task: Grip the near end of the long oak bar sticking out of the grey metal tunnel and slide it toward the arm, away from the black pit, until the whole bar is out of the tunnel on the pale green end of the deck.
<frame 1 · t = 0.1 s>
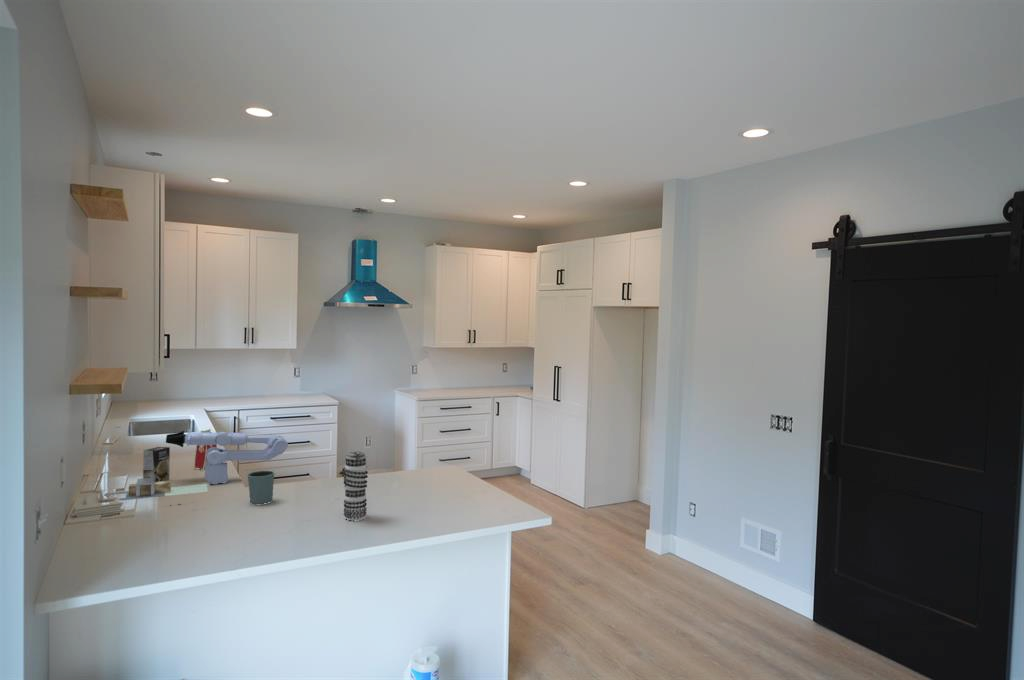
hand: (166, 438, 271), 22 cm above the counter, tool horizontal, fingers open, 7 cm apart
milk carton: (206, 468, 308), on the counter
tunnel: (145, 493, 256), resting on deck
deck: (157, 496, 258), on the counter
coffee box: (156, 484, 277), on the counter
decorative candle: (354, 518, 234), on the counter
drinking glass: (260, 502, 252), on the counter
oak bar: (150, 493, 256), point 1 cm above the counter, touching deck
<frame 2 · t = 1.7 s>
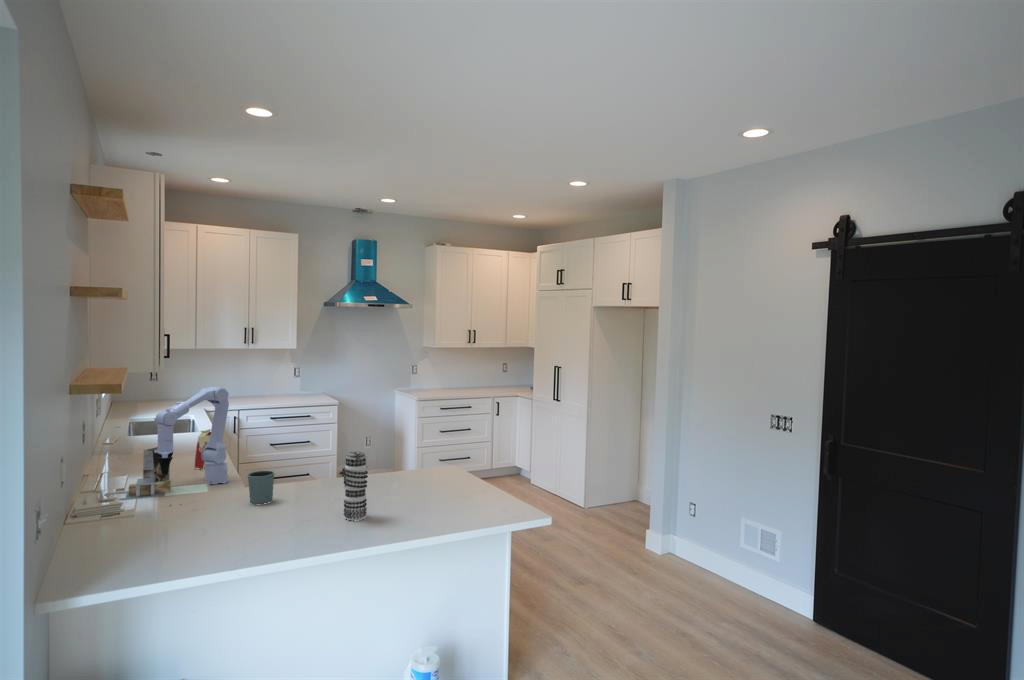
hand: (165, 471, 259), 10 cm above the counter, tool pointing down, fingers open, 7 cm apart
nothing on the counter moved.
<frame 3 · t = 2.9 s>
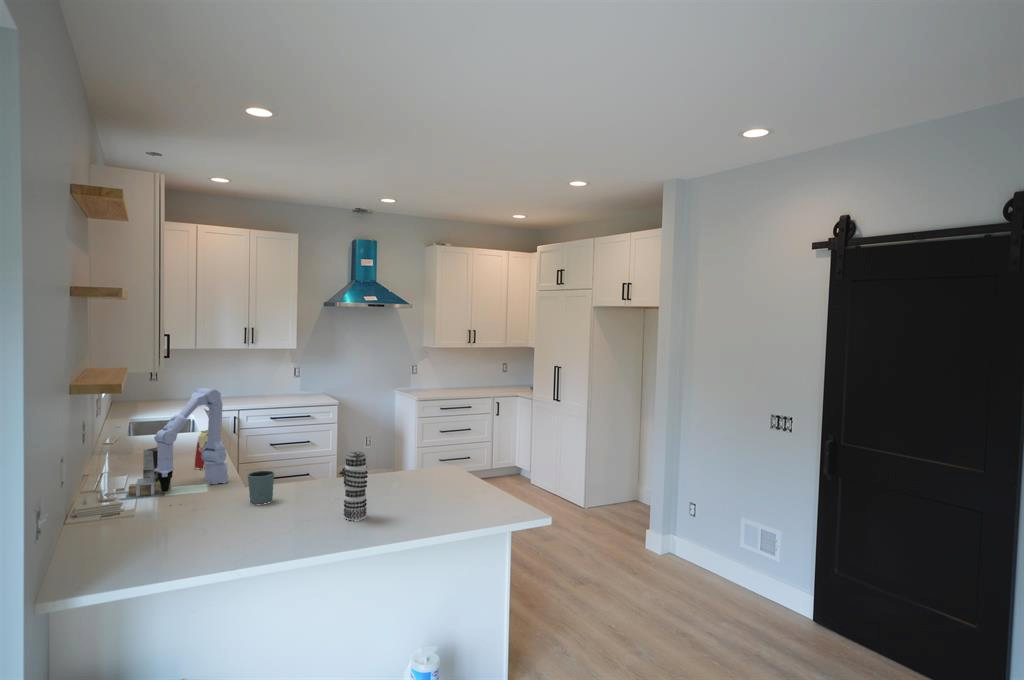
hand: (165, 490, 259), 2 cm above the counter, tool pointing down, fingers closed on oak bar, 4 cm apart
oak bar: (150, 493, 256), point 1 cm above the counter, touching deck, gripper
everything else where it was.
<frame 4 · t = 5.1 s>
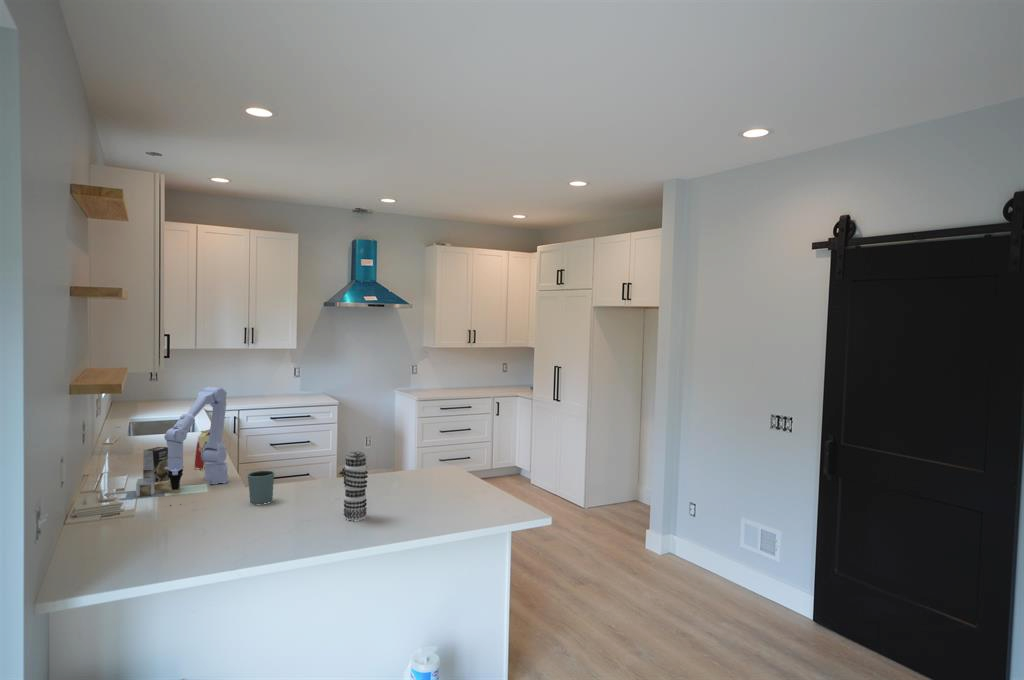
hand: (175, 488, 261), 3 cm above the counter, tool pointing down, fingers closed on oak bar, 4 cm apart
oak bar: (159, 492, 258), point 2 cm above the counter, touching gripper
everything else where it was.
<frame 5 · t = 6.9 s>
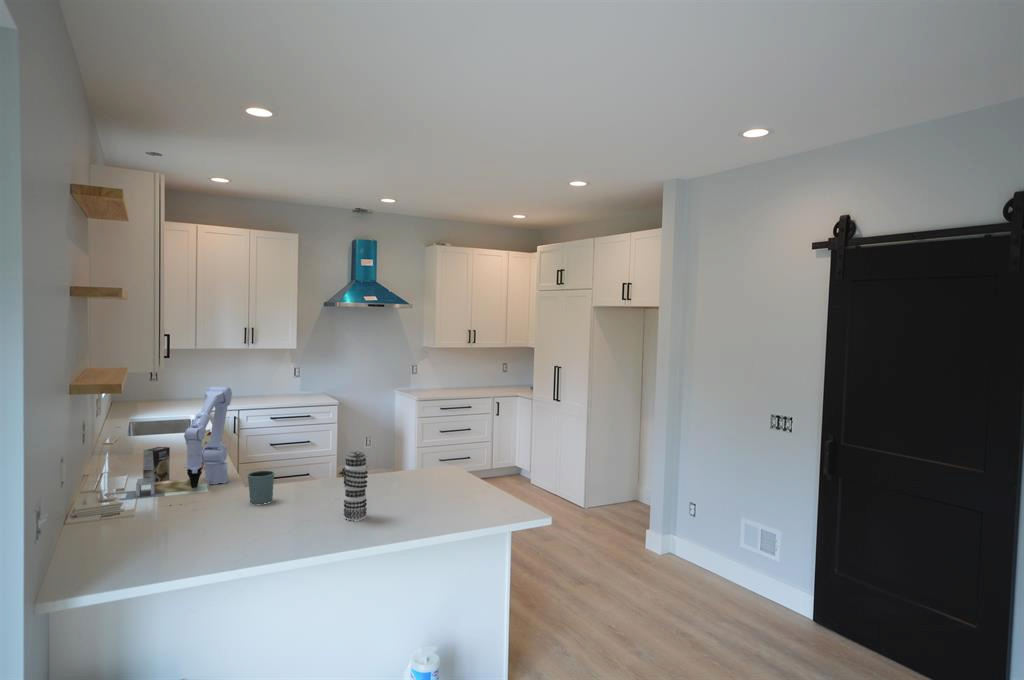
hand: (194, 486, 264), 3 cm above the counter, tool pointing down, fingers closed on oak bar, 4 cm apart
oak bar: (175, 490, 261), point 1 cm above the counter, touching deck, gripper
everything else where it was.
when the fingers open (3 cm above the counter, at t = 7.8 s): oak bar stays where it is, resting on deck.
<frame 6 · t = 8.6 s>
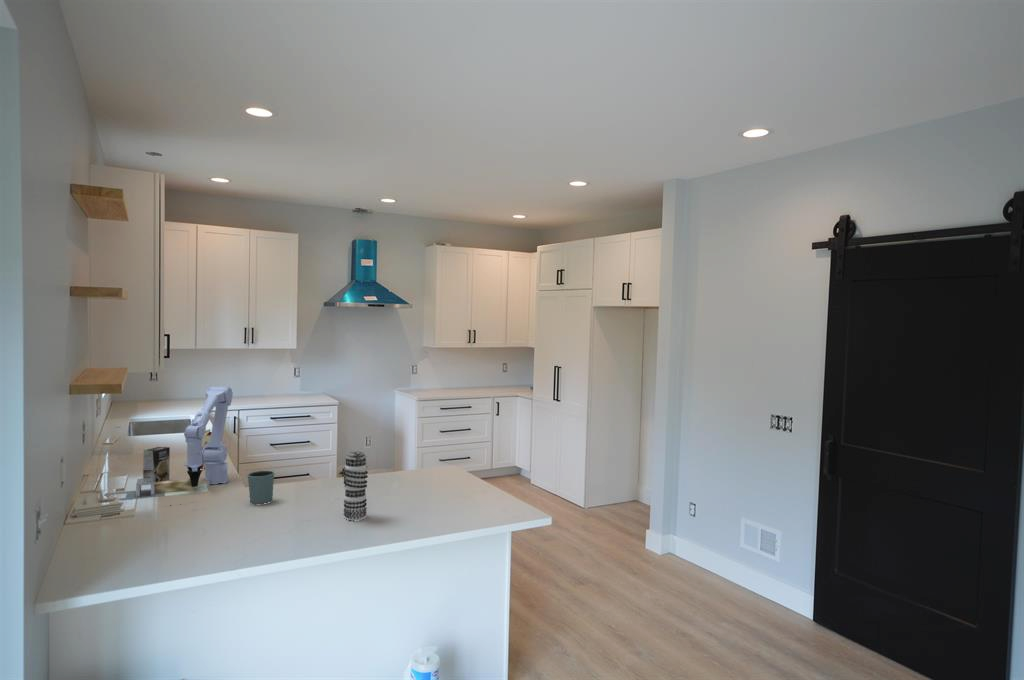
hand: (194, 484, 264), 3 cm above the counter, tool pointing down, fingers open, 7 cm apart
oak bar: (175, 490, 261), point 1 cm above the counter, touching deck
everything else where it was.
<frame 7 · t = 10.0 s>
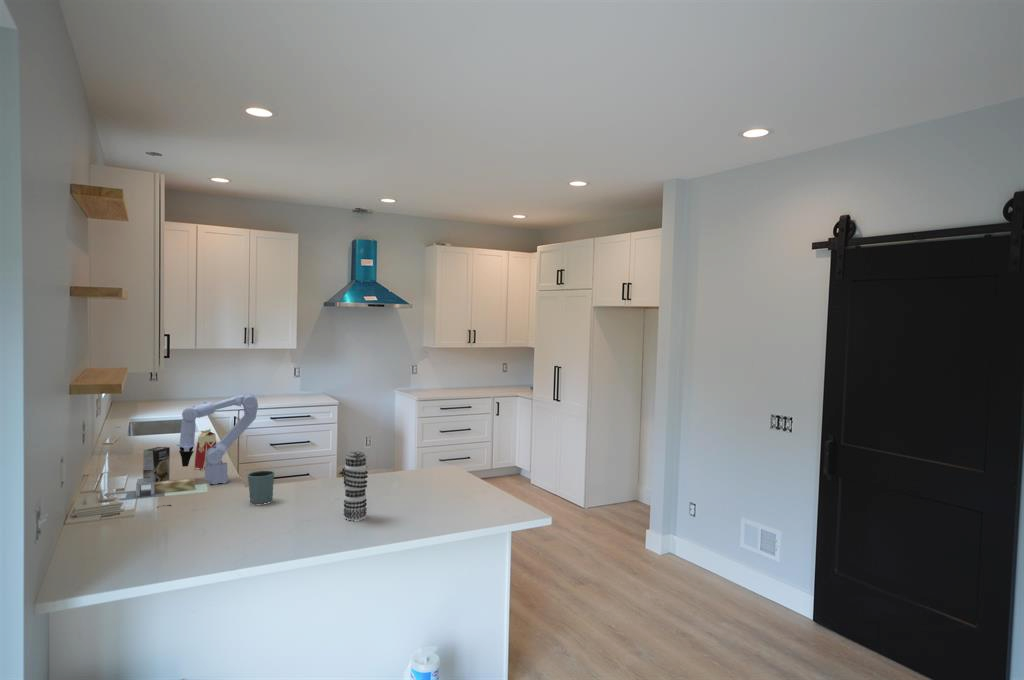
hand: (185, 464, 275), 9 cm above the counter, tool pointing down, fingers open, 7 cm apart
nothing on the counter moved.
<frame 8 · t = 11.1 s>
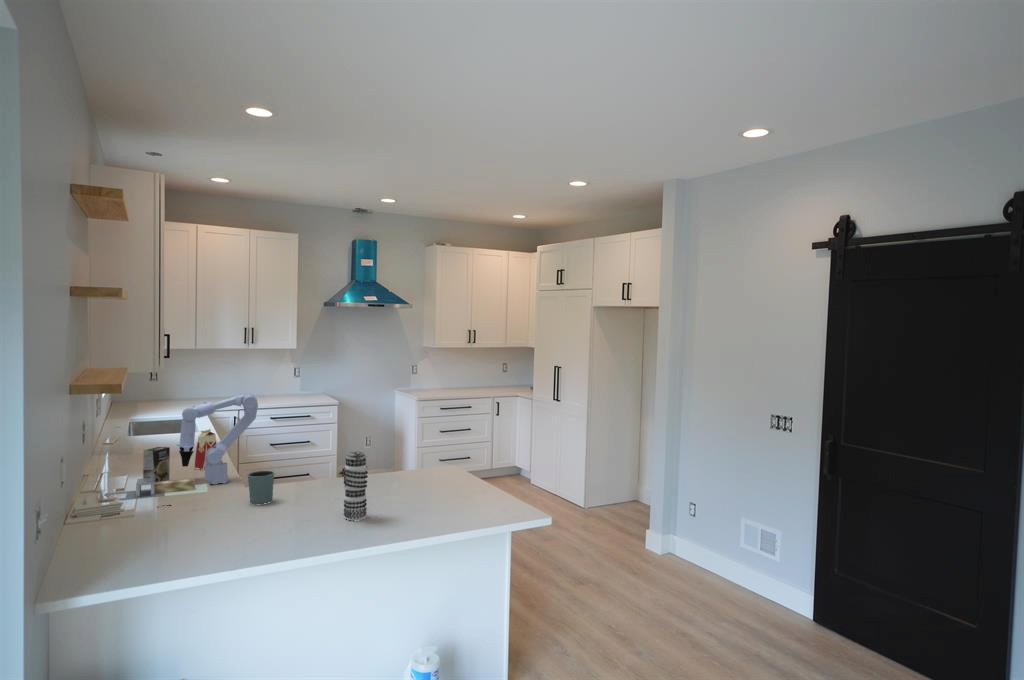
hand: (185, 464, 275), 9 cm above the counter, tool pointing down, fingers open, 7 cm apart
nothing on the counter moved.
at the end: oak bar inside the target area (3.6 cm from its centre), point 1.5 cm above the counter; oak bar tilted 0°; the gripper is holding nothing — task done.
